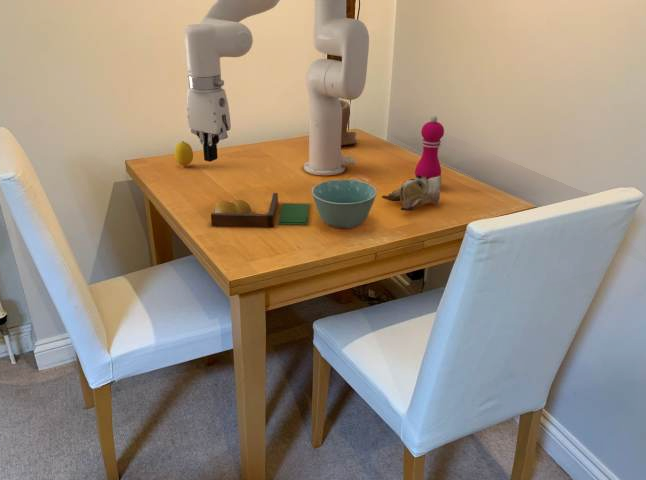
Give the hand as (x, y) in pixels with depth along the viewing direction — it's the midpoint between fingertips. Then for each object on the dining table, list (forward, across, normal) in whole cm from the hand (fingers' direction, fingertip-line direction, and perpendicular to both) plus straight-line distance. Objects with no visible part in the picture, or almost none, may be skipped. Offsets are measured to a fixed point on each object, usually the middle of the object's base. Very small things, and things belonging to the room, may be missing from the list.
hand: (211, 159), depth 144 cm
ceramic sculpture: (+13, -43, -30) cm, 54 cm away
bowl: (+13, -32, -11) cm, 36 cm away
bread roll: (+13, -6, +1) cm, 15 cm away
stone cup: (+13, +1, -66) cm, 67 cm away
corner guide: (+13, -9, -2) cm, 16 cm away
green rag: (+13, -19, -8) cm, 25 cm away
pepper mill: (+13, -40, -45) cm, 61 cm away
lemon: (+13, +29, -21) cm, 38 cm away
